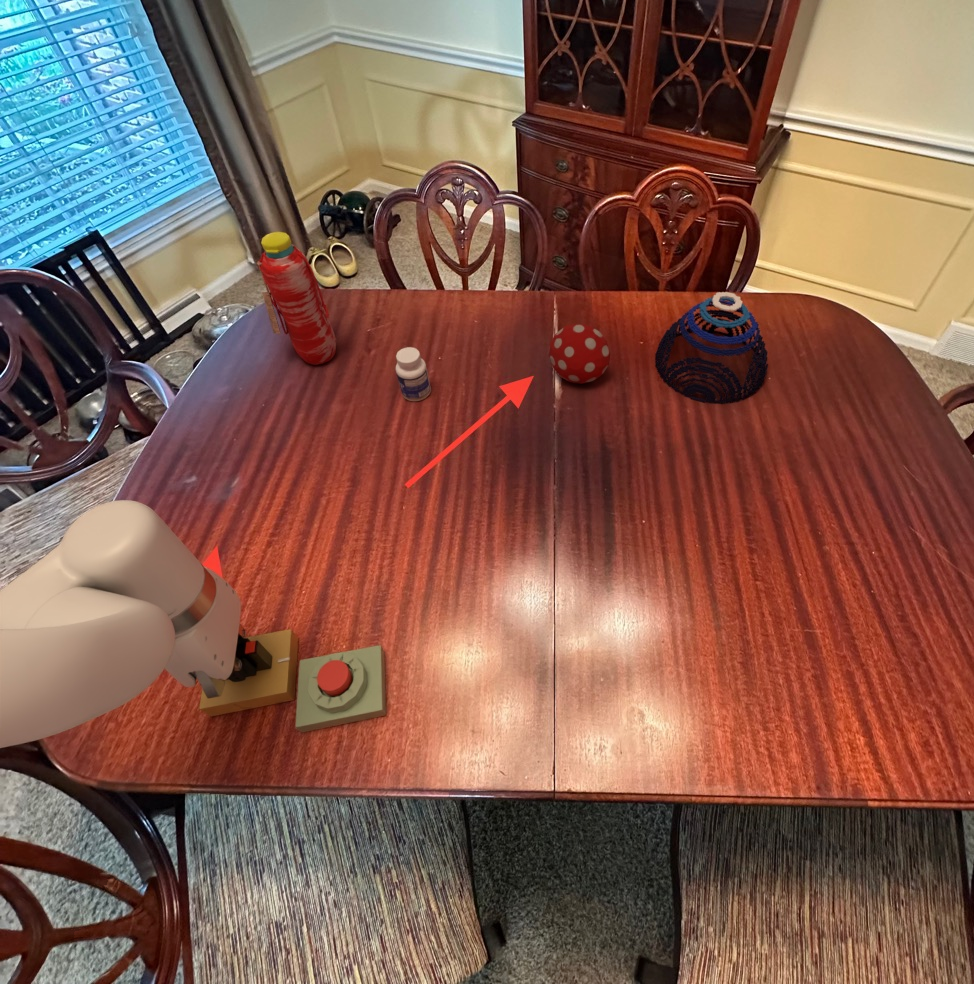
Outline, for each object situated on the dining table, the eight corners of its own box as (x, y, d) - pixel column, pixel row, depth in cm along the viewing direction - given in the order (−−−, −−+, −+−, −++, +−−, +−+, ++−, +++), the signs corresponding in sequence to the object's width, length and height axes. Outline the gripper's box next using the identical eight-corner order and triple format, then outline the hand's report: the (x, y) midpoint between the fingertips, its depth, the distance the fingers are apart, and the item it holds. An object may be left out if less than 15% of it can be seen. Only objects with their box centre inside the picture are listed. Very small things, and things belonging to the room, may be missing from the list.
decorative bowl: (641, 385, 109) (652, 321, 98) (670, 320, 120) (682, 257, 109) (754, 416, 103) (778, 352, 92) (772, 345, 115) (795, 281, 104)
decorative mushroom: (549, 322, 116) (531, 348, 103) (600, 296, 112) (588, 320, 99) (576, 371, 120) (562, 402, 107) (626, 348, 115) (618, 377, 102)
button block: (301, 732, 71) (289, 722, 68) (304, 666, 76) (294, 654, 73) (386, 715, 72) (379, 705, 69) (384, 651, 78) (377, 638, 74)
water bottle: (274, 368, 113) (218, 249, 94) (288, 340, 118) (238, 222, 99) (337, 371, 112) (293, 251, 93) (349, 343, 117) (309, 224, 98)
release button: (320, 698, 70) (316, 693, 69) (321, 668, 73) (317, 663, 71) (351, 692, 71) (348, 687, 69) (352, 662, 73) (348, 657, 72)
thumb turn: (220, 678, 73) (201, 662, 69) (222, 665, 74) (203, 648, 70) (271, 668, 73) (255, 652, 69) (272, 656, 74) (257, 639, 70)
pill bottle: (400, 384, 110) (390, 347, 103) (429, 379, 110) (421, 341, 104) (403, 404, 106) (393, 367, 99) (432, 399, 107) (425, 362, 100)
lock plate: (208, 717, 73) (197, 709, 70) (218, 653, 78) (208, 643, 75) (295, 700, 74) (286, 691, 71) (299, 637, 79) (291, 628, 76)
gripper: (150, 535, 64) (222, 611, 78) (110, 685, 53) (201, 740, 68) (223, 523, 64) (282, 600, 78) (199, 668, 54) (270, 726, 68)
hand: (244, 665), depth 73 cm, fingers closed on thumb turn
